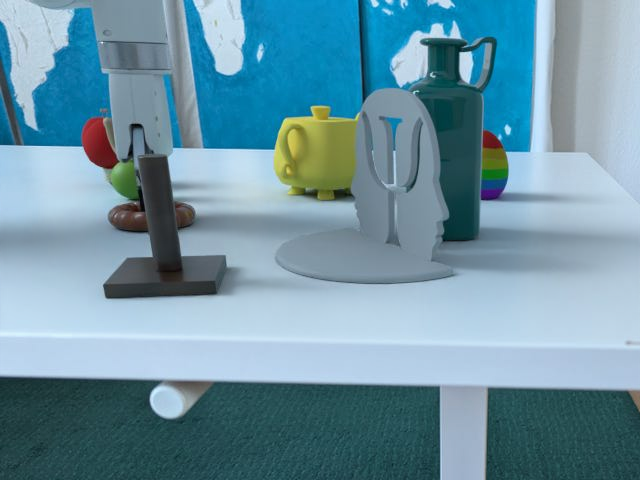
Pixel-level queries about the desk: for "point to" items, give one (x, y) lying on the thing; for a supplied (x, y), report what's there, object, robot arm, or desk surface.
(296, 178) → the teapot
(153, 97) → the robot arm
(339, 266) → the ornament
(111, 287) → the post
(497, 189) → the decorative egg
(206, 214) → the desk surface
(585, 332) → the desk surface
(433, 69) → the pitcher
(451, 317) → the desk surface
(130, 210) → the ring
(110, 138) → the snail figurine
